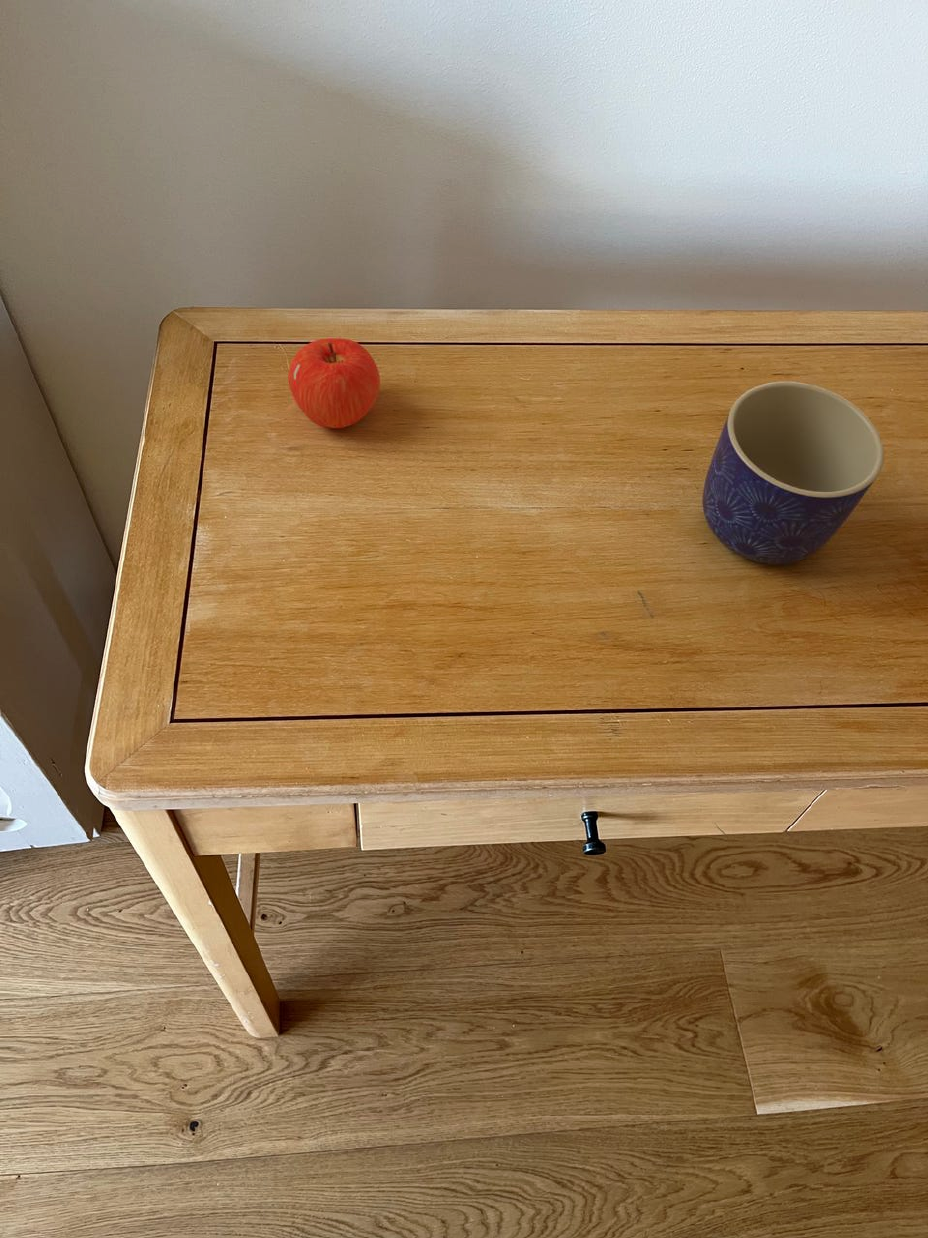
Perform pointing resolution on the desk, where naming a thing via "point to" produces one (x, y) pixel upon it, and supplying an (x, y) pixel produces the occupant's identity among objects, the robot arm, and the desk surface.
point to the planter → (788, 471)
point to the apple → (334, 381)
